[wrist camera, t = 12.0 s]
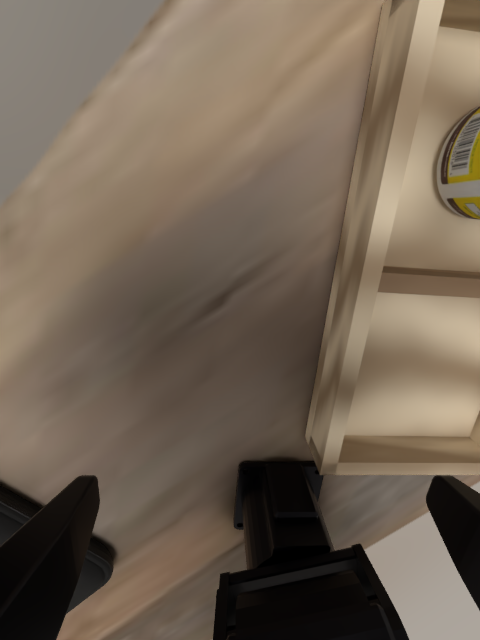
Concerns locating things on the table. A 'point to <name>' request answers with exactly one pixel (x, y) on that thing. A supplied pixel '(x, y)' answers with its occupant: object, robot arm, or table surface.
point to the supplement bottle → (461, 167)
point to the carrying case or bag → (13, 512)
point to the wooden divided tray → (405, 265)
